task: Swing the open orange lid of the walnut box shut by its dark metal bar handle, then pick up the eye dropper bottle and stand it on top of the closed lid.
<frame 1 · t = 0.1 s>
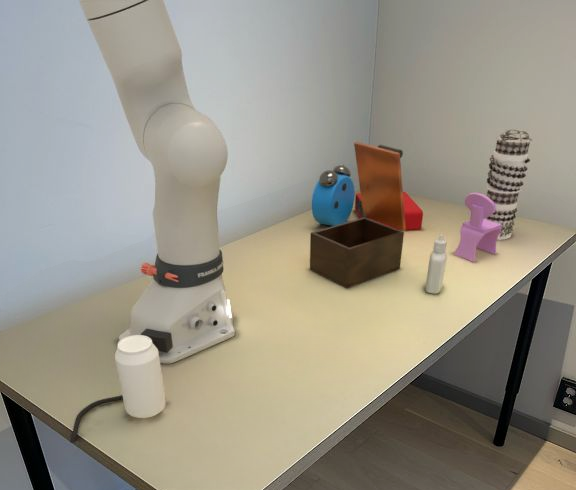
red device housing: (386, 220, 162), on the table
alarm clock: (332, 225, 159), on the table
beverage can: (146, 410, 91), on the table
lid: (386, 182, 128), point 18 cm above the table, hinge at 75.0°
decorative candle: (494, 234, 153), on the table
toy chair: (475, 254, 142), on the table
chest: (354, 269, 134), on the table
eye dropper bottle: (433, 289, 126), on the table
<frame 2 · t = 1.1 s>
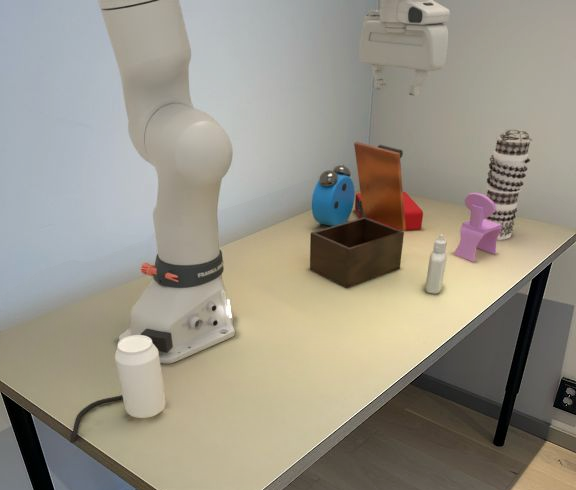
hand: (396, 92, 118), 36 cm above the table, tool pointing down, fingers open, 8 cm apart
nothing on the table moved.
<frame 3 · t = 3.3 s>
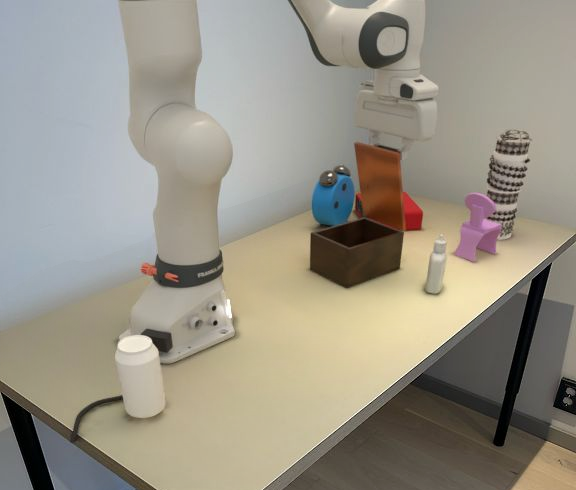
hand: (389, 156, 125), 24 cm above the table, tool pointing down, fingers closed on lid, 6 cm apart
lid: (386, 182, 128), point 18 cm above the table, hinge at 75.0°, touching gripper
everything else where it was.
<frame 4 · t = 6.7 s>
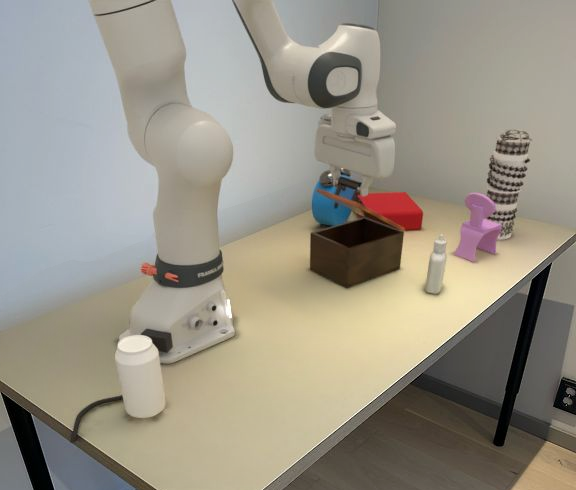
hand: (350, 191, 122), 18 cm above the table, tool pointing down, fingers closed on lid, 6 cm apart
lid: (365, 201, 126), point 15 cm above the table, hinge at 29.7°, touching gripper
everything else where it was.
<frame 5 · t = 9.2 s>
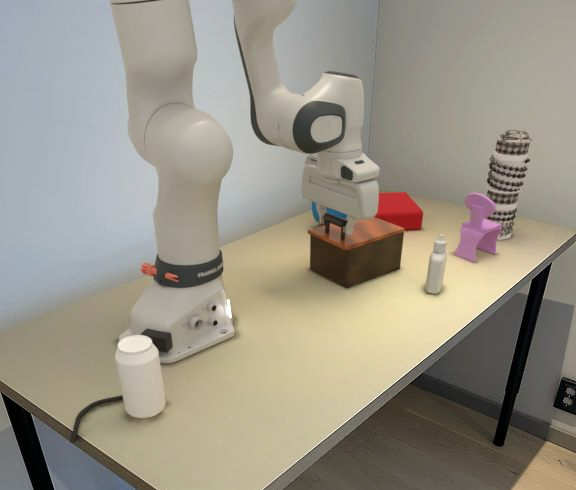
hand: (336, 229, 125), 11 cm above the table, tool pointing down, fingers closed on lid, 6 cm apart
lid: (356, 221, 128), point 11 cm above the table, hinge at -0.2°, touching chest, gripper
everything else where it was.
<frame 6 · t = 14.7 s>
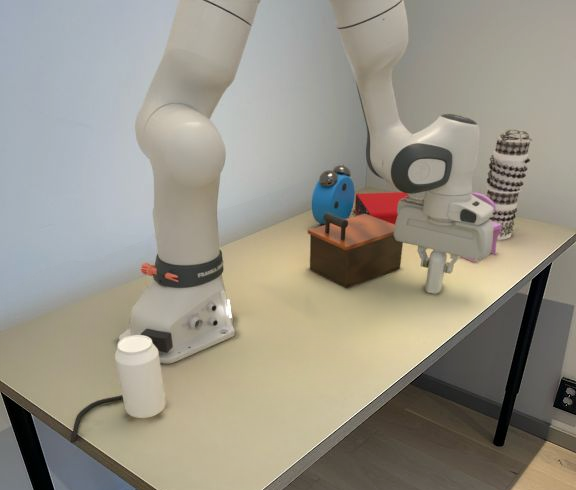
hand: (436, 269, 123), 5 cm above the table, tool pointing down, fingers closed on eye dropper bottle, 4 cm apart
lid: (356, 221, 128), point 11 cm above the table, hinge at -0.2°, touching chest
eye dropper bottle: (433, 289, 126), on the table, touching gripper
everything else where it was.
when the fingers open (14 cm above the table, at t = 22.2 s): eye dropper bottle stays where it is, resting on lid.
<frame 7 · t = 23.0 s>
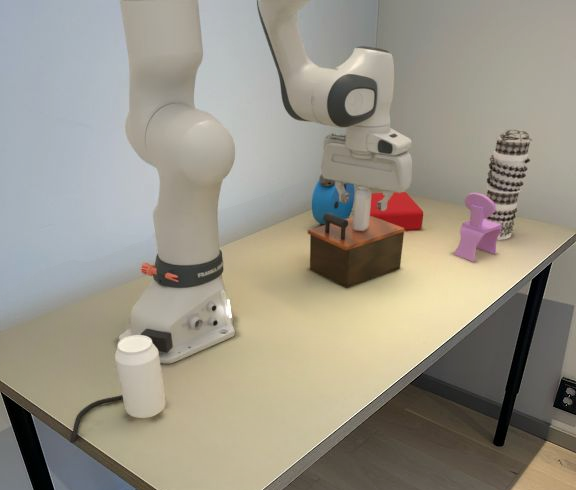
hand: (362, 205, 127), 15 cm above the table, tool pointing down, fingers open, 8 cm apart
lid: (356, 221, 128), point 11 cm above the table, hinge at -0.2°, touching chest, eye dropper bottle
eye dropper bottle: (360, 228, 130), point 9 cm above the table, touching lid
everything else where it was.
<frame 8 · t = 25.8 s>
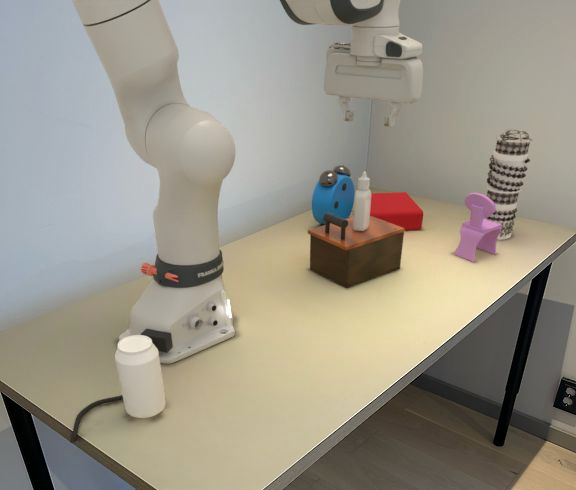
hand: (368, 123, 117), 31 cm above the table, tool pointing down, fingers open, 8 cm apart
nothing on the table moved.
at the end: lid at +0° (first picture: +75°); eye dropper bottle inside the target area on the chest (0.2 cm from its centre), point 9.4 cm above the chest's base; eye dropper bottle tilted 0° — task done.
